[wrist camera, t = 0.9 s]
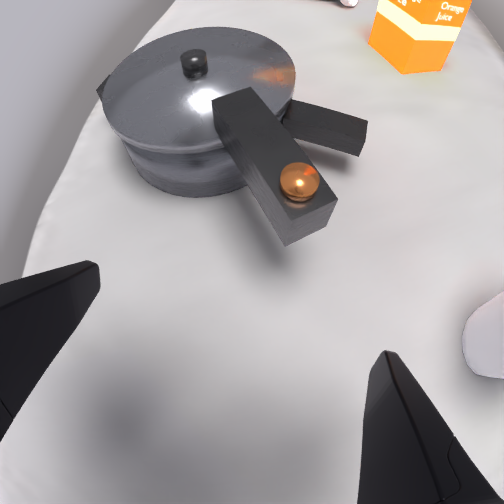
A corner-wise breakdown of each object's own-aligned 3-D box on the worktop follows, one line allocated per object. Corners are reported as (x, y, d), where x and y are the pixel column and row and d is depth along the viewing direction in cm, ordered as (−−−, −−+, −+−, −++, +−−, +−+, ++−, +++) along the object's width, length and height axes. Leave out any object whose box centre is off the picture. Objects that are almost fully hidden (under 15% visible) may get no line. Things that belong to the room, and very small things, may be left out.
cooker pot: (336, 240, 25) (357, 203, 19) (82, 172, 28) (55, 134, 22) (359, 115, 30) (374, 72, 24) (150, 74, 33) (139, 36, 27)
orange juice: (441, 71, 35) (487, -35, 16) (402, 75, 33) (447, -52, 15) (407, 41, 37) (440, -61, 19) (366, 43, 36) (395, -75, 17)
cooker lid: (176, 304, 17) (151, 281, 13) (95, 74, 24) (81, 40, 20) (401, 193, 19) (429, 152, 15) (241, 23, 27) (240, -12, 23)
